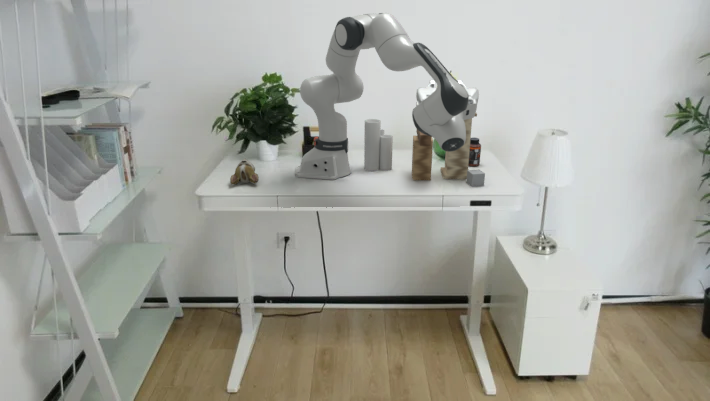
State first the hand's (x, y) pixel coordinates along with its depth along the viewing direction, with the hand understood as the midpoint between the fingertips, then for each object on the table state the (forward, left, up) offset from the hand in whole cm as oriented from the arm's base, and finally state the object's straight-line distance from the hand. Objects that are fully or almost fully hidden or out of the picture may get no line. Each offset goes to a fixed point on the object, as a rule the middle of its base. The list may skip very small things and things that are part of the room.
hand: (445, 82), depth 185 cm
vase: (-22, +29, -41) cm, 55 cm away
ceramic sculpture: (-73, +11, -41) cm, 85 cm away
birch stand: (+9, +21, -40) cm, 47 cm away
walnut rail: (-5, +17, -24) cm, 30 cm away
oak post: (-5, +18, -40) cm, 45 cm away
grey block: (+15, +11, -41) cm, 45 cm away
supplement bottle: (+18, +35, -41) cm, 57 cm away
